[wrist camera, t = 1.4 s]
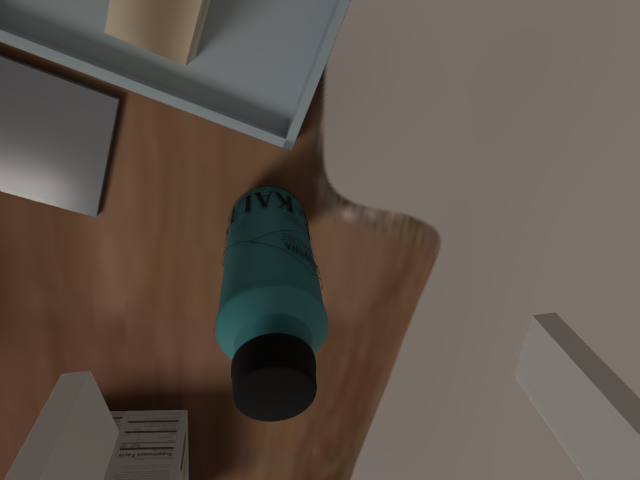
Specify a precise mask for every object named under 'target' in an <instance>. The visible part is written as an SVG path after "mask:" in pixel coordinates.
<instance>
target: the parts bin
mask: <svg viewBox="0 0 640 480" xmlns="http://www.w3.org/2000/svg"><path fill="white" fill-rule="evenodd" d="M109 1H110V0H0V42H3V43H5V44H8V45H11V46H13V47H16V48H19V49H21V50H24V51H27V52H29V53H32V54H35V55H37V56H40V57H43V58H45V59H48V60H51V61H53V62H56V63H59V64H61V65H64V66H67V67H69V68H72V69H75V70H77V71H80V72H82V73H85V74H88V75H90V76H93V77H96V78H98V79H101V80H104V81H106V82H109V83H112V84H114V85H117V86H120V87H122V88H125V89H128V90H130V91H133V92H136V93H138V94H141V95H144V96H146V97H149V98H152V99H154V100H157V101H160V102H162V103H165V104H168V105H170V106H173V107H176V108H178V109H181V110H184V111H186V112H189V113H192V114H194V115H197V116H200V117H202V118H205V119H208V120H210V121H213V122H216V123H218V124H221V125H224V126H226V127H229V128H232V129H234V130H237V131H240V132H242V133H245V134H248V135H250V136H253V137H256V138H258V139H261V140H264V141H266V142H269V143H272V144H274V145H277V146H280V147H282V148H285V149H287V150H290V151H291V150H292V148H293V145H294V143H295V140H296V138H297V135H298V133H299V130H300V128H301V125H302V123H303V120H304V118H305V115H306V113H307V110H308V108H309V105H310V103H311V100H312V98H313V95H314V93H315V90H316V87H317V85H318V82H319V80H320V77H321V75H322V72H323V70H324V67H325V65H326V62H327V60H328V57H329V55H330V52H331V50H332V47H333V45H334V42H335V40H336V37H337V34H338V32H339V30H340V27H341V25H342V22H343V20H344V17H345V15H346V12H347V10H348V7H349V4H350V2H351V0H211V2H210V6H209V10H208V14H207V18H206V21H205V25H204V29H203V33H202V37H201V40H200V44H199V48H198V52H197V56H196V58H195V59H194V60H192V61H191V62H190V63H188V64H187V65H186V66H184V65H182V64H179V63H177V62H174V61H172V60H169V59H167V58H164V57H162V56H160V55H157V54H155V53H152V52H150V51H147V50H145V49H143V48H140V47H138V46H135V45H133V44H130V43H128V42H125V41H123V40H121V39H118V38H116V37H113V36H111V35H108V34H106V33H104V32H105V26H106V20H107V13H108V7H109Z"/></svg>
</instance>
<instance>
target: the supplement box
mask: <svg viewBox="0 0 640 480" xmlns="http://www.w3.org/2000/svg"><path fill="white" fill-rule="evenodd" d="M110 413H111V415H112V417H113V419H114V422H115V424H116V426H117V428H118V430H119V434H118V437H117V440H116V443H115V446H114V449H113V452H112V455H111V458H110V461H109V464H108V467H107V470H106V473H105V476H104V479H103V480H189V453H188V411H187V410H150V411H110Z"/></svg>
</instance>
